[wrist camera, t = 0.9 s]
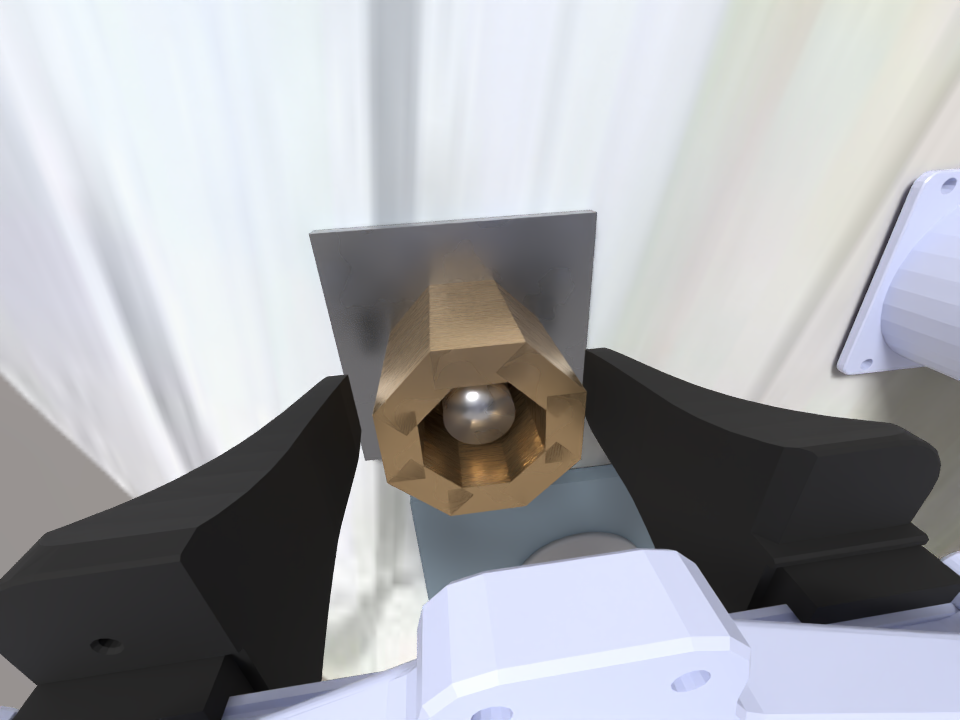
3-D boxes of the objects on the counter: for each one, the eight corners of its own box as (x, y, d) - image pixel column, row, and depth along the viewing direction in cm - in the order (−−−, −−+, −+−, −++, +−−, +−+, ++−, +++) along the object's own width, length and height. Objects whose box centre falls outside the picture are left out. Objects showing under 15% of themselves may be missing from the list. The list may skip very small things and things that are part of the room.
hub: (741, 448, 19) (829, 530, 15) (686, 615, 26) (737, 705, 22) (411, 489, 18) (405, 592, 14) (441, 653, 25) (444, 757, 20)
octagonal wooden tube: (538, 275, 13) (591, 335, 9) (536, 403, 16) (577, 499, 11) (383, 289, 13) (359, 358, 9) (405, 417, 15) (396, 523, 11)
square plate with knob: (590, 209, 13) (662, 235, 9) (574, 426, 17) (618, 509, 13) (313, 230, 12) (258, 267, 8) (367, 450, 17) (347, 546, 13)
